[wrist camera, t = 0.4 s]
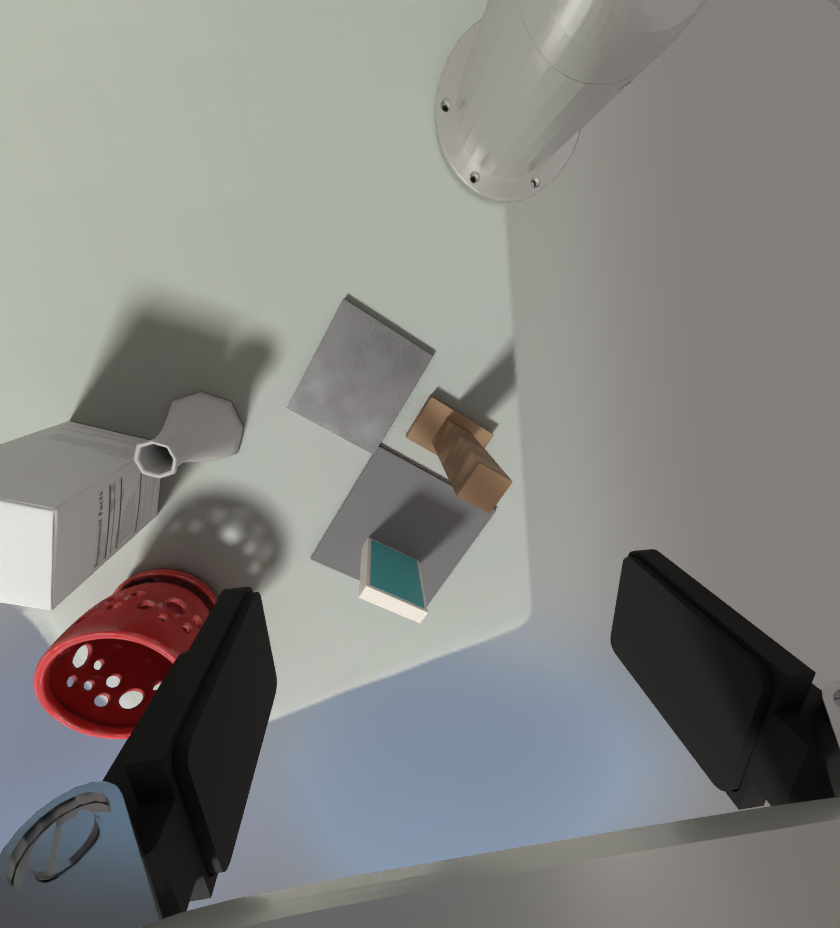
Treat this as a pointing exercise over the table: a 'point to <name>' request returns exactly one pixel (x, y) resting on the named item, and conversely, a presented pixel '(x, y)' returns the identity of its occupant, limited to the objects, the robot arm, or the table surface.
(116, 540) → the supplement box
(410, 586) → the tile
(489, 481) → the wooden post stand
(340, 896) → the robot arm
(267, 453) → the table surface
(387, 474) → the mat
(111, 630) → the plant pot
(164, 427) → the flask
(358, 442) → the plate
